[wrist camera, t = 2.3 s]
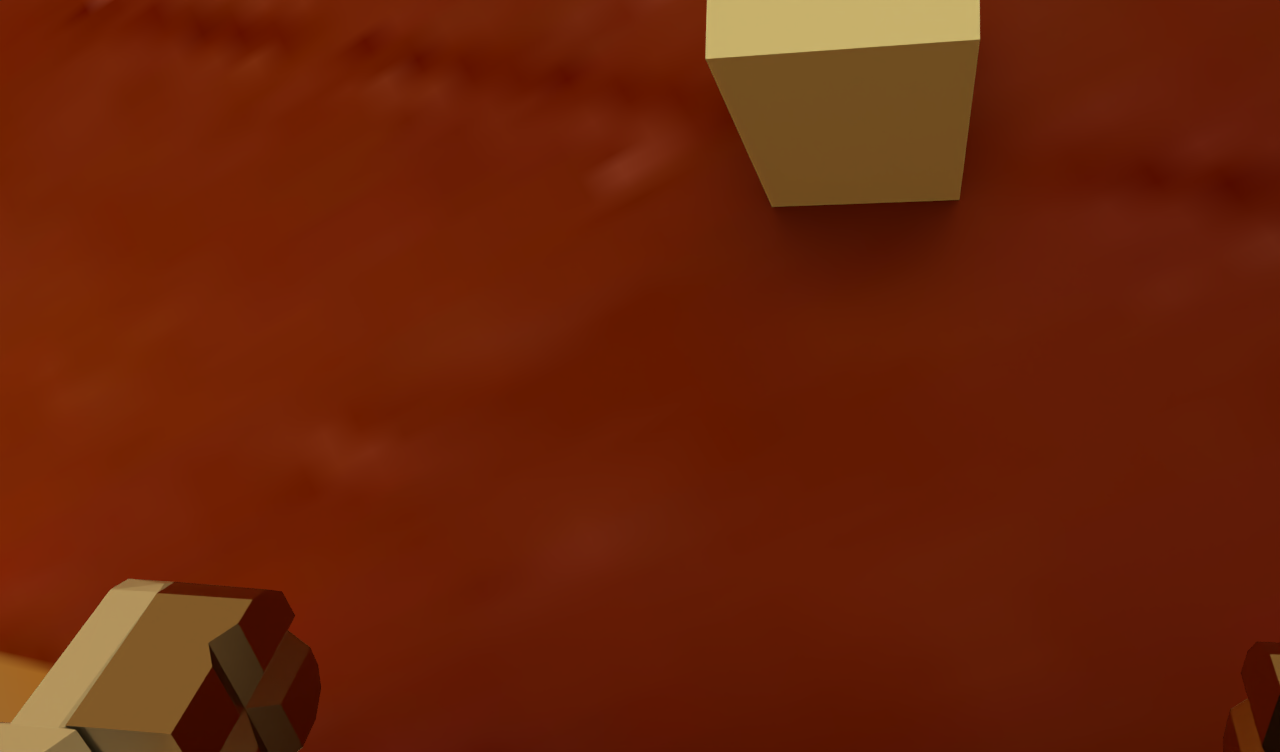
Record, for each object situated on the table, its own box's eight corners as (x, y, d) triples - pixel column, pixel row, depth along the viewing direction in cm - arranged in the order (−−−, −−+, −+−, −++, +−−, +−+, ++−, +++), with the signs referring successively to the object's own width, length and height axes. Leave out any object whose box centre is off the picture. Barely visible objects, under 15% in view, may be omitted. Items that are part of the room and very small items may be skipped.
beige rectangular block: (958, 21, 30) (977, -218, 20) (959, 199, 29) (979, 39, 20) (774, 35, 31) (711, -184, 22) (771, 206, 31) (705, 59, 21)
